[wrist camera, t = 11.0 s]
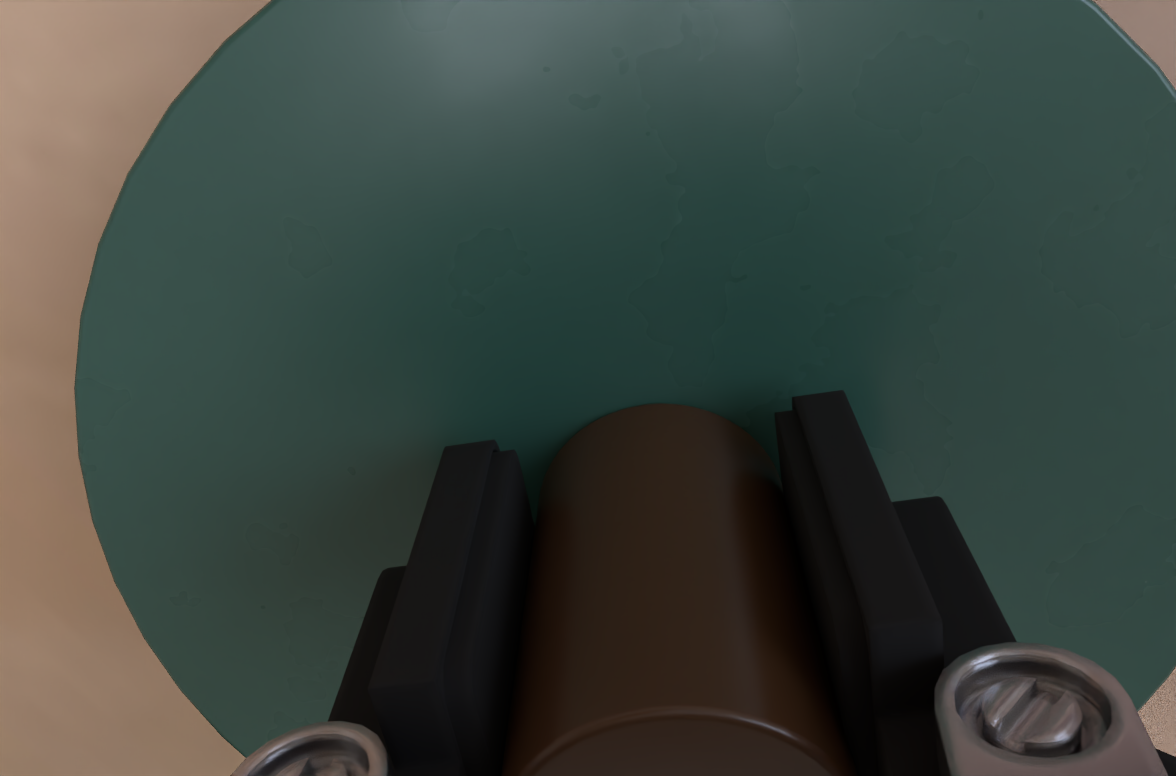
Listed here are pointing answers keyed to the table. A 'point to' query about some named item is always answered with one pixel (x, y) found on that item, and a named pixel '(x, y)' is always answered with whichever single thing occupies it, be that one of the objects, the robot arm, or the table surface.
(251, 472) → the lid
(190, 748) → the table surface
